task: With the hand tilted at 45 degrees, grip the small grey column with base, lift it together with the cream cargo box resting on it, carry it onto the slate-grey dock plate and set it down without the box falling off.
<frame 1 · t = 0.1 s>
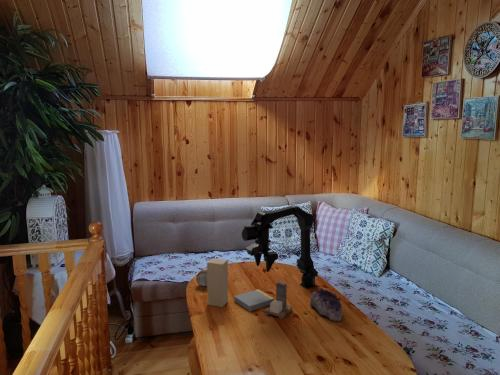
hand: (262, 268, 198), 15 cm above the table, fingers open, 9 cm apart
tin: (210, 286, 214), on the table
geode: (328, 312, 185), on the table
cargo box: (276, 310, 182), point 2 cm above the table, touching grey column with base
grey column with base: (278, 312, 185), on the table, touching cargo box
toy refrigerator: (218, 303, 194), on the table
dock: (254, 302, 195), on the table
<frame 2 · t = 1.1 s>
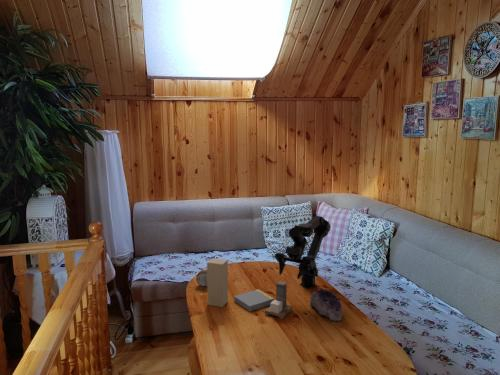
hand: (288, 276, 191), 13 cm above the table, fingers open, 9 cm apart
nothing on the table moved.
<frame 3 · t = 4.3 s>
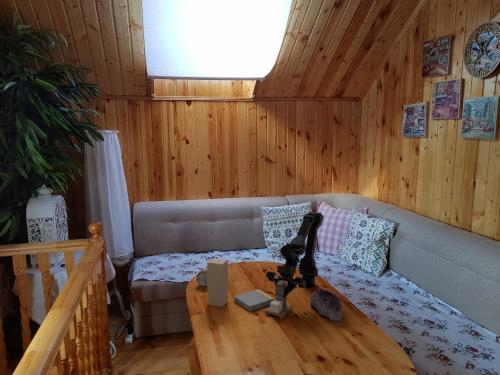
hand: (279, 296, 184), 7 cm above the table, fingers closed on grey column with base, 3 cm apart
grey column with base: (278, 312, 185), on the table, touching cargo box, gripper
everything else where it was.
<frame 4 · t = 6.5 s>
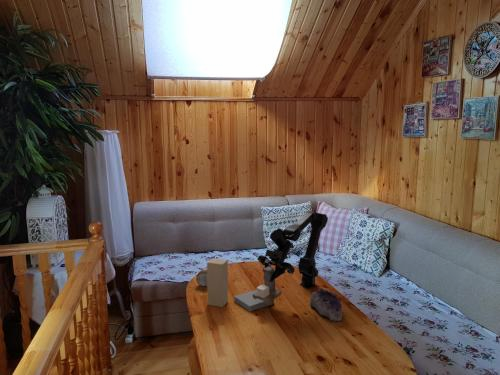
hand: (267, 280, 187), 13 cm above the table, fingers closed on grey column with base, 3 cm apart
cargo box: (263, 295, 186), point 7 cm above the table, tilted 6°, touching grey column with base
grey column with base: (267, 296, 189), point 5 cm above the table, tilted 6°, touching cargo box, gripper
everything else where it was.
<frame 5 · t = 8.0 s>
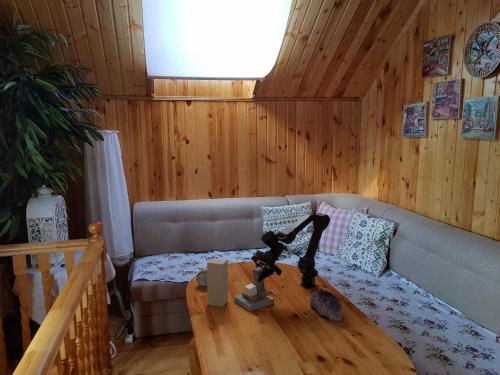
hand: (256, 279, 194), 11 cm above the table, fingers closed on grey column with base, 3 cm apart
cargo box: (251, 293, 193), point 5 cm above the table, tilted 7°, touching grey column with base
grey column with base: (256, 295, 195), point 3 cm above the table, tilted 7°, touching cargo box, dock, gripper
everything else where it was.
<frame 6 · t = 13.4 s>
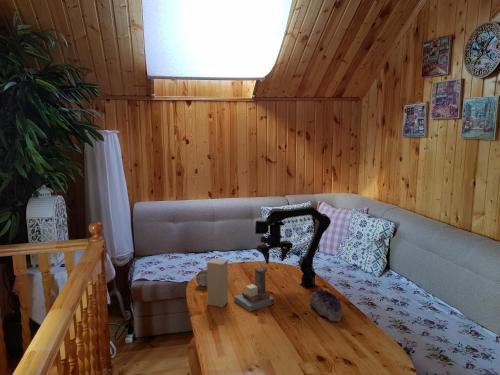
hand: (274, 262, 211), 13 cm above the table, fingers open, 9 cm apart
cargo box: (251, 294, 193), point 4 cm above the table, touching grey column with base
grey column with base: (256, 296, 195), point 3 cm above the table, touching cargo box, dock
everything else where it was.
at the end: grey column with base 1.2 cm off-centre on the dock, point 2.6 cm above the dock's base; cargo box inside the target area on the grey column with base (2.5 cm from its centre), point 1.9 cm above the grey column with base's base; the gripper is holding nothing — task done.
